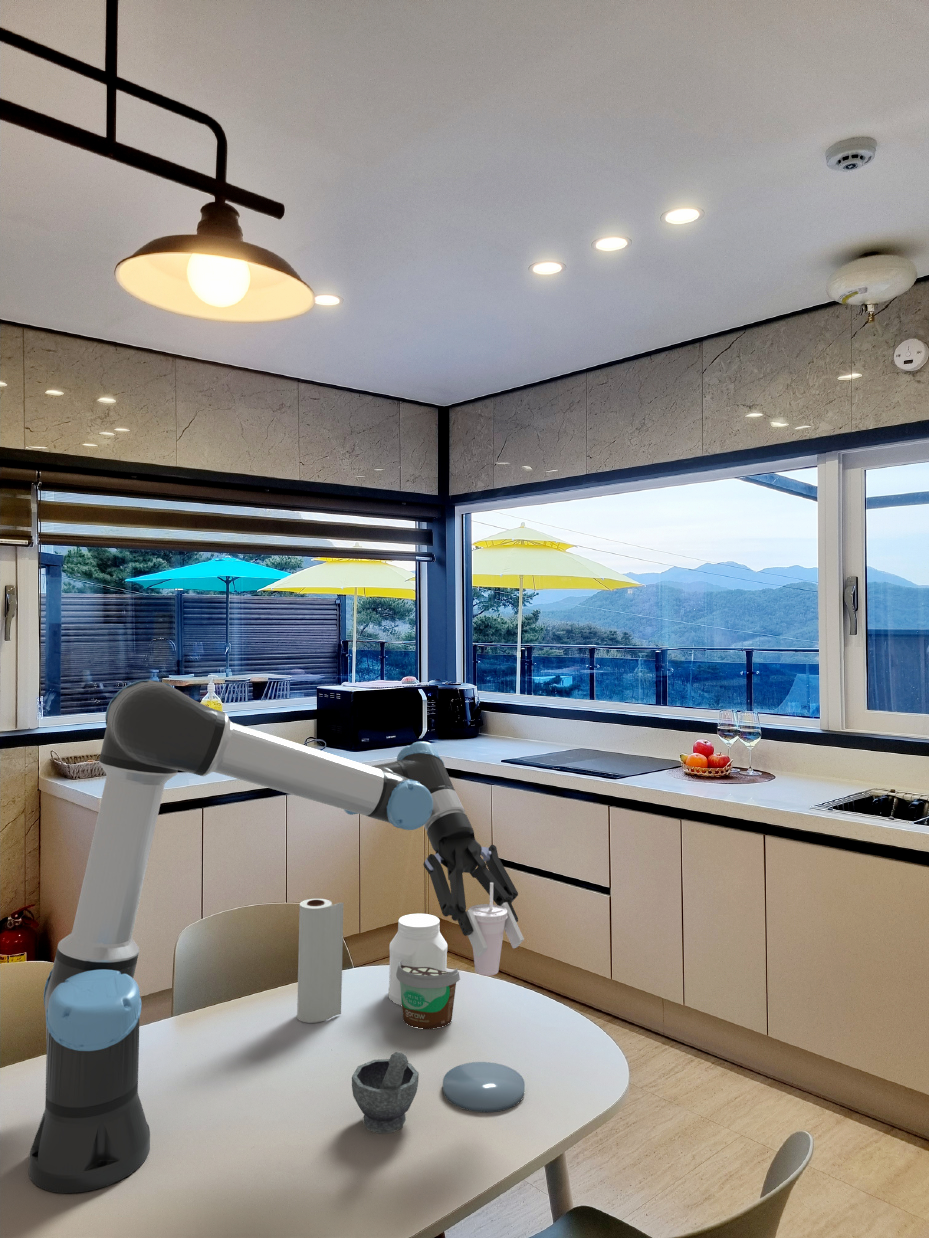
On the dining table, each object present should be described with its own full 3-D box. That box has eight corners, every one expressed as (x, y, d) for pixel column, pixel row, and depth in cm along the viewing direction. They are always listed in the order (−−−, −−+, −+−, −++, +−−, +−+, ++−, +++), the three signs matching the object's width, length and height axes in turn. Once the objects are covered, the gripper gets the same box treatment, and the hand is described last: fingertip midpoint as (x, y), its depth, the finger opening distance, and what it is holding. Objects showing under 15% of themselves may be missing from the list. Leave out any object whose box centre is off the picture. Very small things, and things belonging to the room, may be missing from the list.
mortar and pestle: (343, 1111, 132) (345, 1031, 132) (401, 1097, 136) (403, 1020, 136) (369, 1152, 121) (370, 1065, 122) (430, 1136, 126) (432, 1052, 126)
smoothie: (507, 979, 136) (508, 889, 136) (466, 978, 136) (467, 888, 136) (506, 963, 142) (507, 877, 142) (466, 962, 142) (468, 876, 142)
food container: (385, 1026, 160) (386, 971, 160) (397, 1012, 166) (398, 959, 166) (448, 1036, 156) (450, 980, 157) (459, 1022, 162) (460, 968, 162)
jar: (435, 982, 180) (437, 909, 181) (453, 1000, 172) (455, 924, 172) (382, 990, 176) (383, 915, 176) (398, 1009, 167) (399, 931, 167)
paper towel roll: (290, 1019, 162) (292, 904, 162) (309, 1007, 167) (311, 895, 168) (322, 1027, 159) (325, 910, 159) (341, 1014, 164) (343, 901, 165)
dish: (518, 1117, 131) (518, 1108, 131) (434, 1106, 134) (434, 1098, 134) (529, 1074, 144) (529, 1066, 144) (452, 1064, 146) (452, 1057, 146)
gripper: (482, 828, 157) (538, 947, 144) (388, 841, 147) (439, 972, 133) (500, 804, 153) (559, 925, 139) (405, 816, 142) (458, 948, 129)
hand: (500, 947), depth 136 cm, fingers closed on smoothie, 6 cm apart
